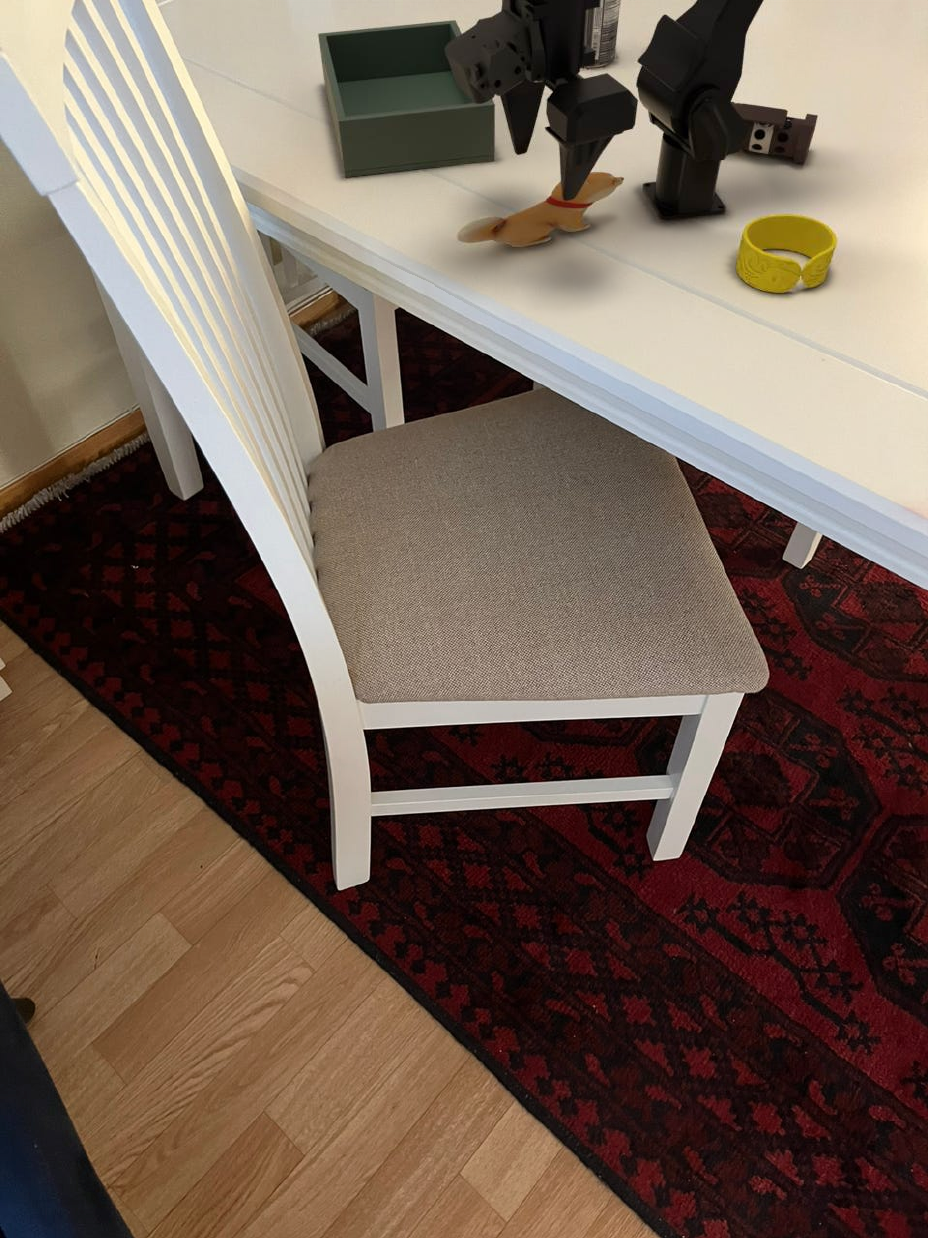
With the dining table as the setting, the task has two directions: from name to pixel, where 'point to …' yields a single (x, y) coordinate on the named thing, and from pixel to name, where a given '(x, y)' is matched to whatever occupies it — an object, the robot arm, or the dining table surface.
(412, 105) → the green storage tray
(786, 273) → the bracelet
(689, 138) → the robot arm
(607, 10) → the pill bottle
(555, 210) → the toy
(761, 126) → the brown bracket with holes
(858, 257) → the dining table surface
